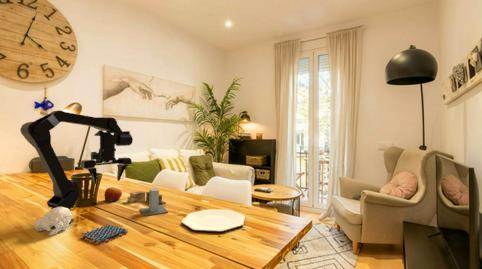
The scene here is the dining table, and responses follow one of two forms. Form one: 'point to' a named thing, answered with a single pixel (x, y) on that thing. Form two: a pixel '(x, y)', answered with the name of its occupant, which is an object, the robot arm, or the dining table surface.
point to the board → (154, 200)
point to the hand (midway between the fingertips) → (107, 182)
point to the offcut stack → (136, 197)
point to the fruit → (112, 194)
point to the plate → (213, 220)
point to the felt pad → (147, 212)
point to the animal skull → (54, 220)
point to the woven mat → (104, 234)
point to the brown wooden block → (159, 198)
